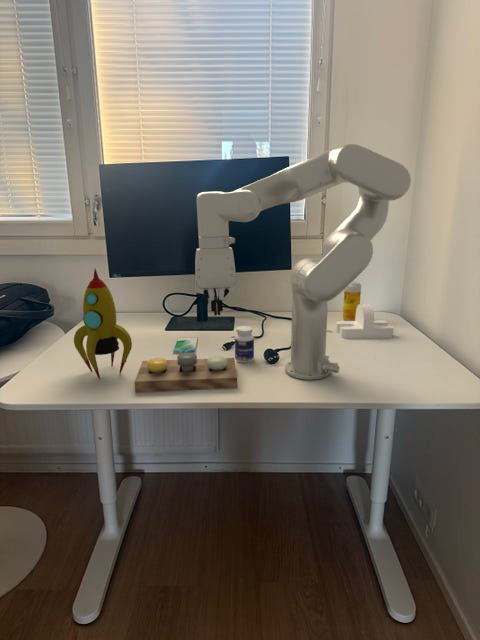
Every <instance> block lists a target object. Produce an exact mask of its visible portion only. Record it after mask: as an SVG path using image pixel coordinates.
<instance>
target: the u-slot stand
mask: <svg viewBox="0 0 480 640" xmlns="http://www.w3.org/2000/svg"><path fill="white" fill-rule="evenodd" d="M394 329H395V328H394V326H393V325H389V322H388V321H386V320H384V319H383V320H381V319H380V320H378V319H377V320H375V312H374V308H373V306H372V304H369V303H368V304H364V303H363V304H361V303H360V305H358V306H357V309H356V317H355V321H344V320H338V321H336V322H335V332H336V333H337V334H339V337H340V338H341V339H348V340H349V339H387V338H388V339H390V338H391V339H392V338H394Z"/></svg>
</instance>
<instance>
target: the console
mask: <svg viewBox="0 0 480 640" xmlns="http://www.w3.org/2000/svg"><path fill="white" fill-rule="evenodd" d="M225 358H226V359H227V367H226V368H224V369H223V371H212V369H210V368H208V362H207V360H208V358H197V363H196V364H195V365H193V372H182V366H180V365H178V362H177V359H166V360H167V369H166V370H164V371H163V372H164V373H152V371H149V370H148V367H147V362H148V361H149V360H142V362H141V365H140V367H139V369H138V372H137V374H136V376H135V380H134V388H135V393H152V392H153V393H155V392H176V391H177V392H178V391H203V390H230V389H238V373H237V367H236V366H237V365H236V359H235V357H225Z"/></svg>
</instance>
